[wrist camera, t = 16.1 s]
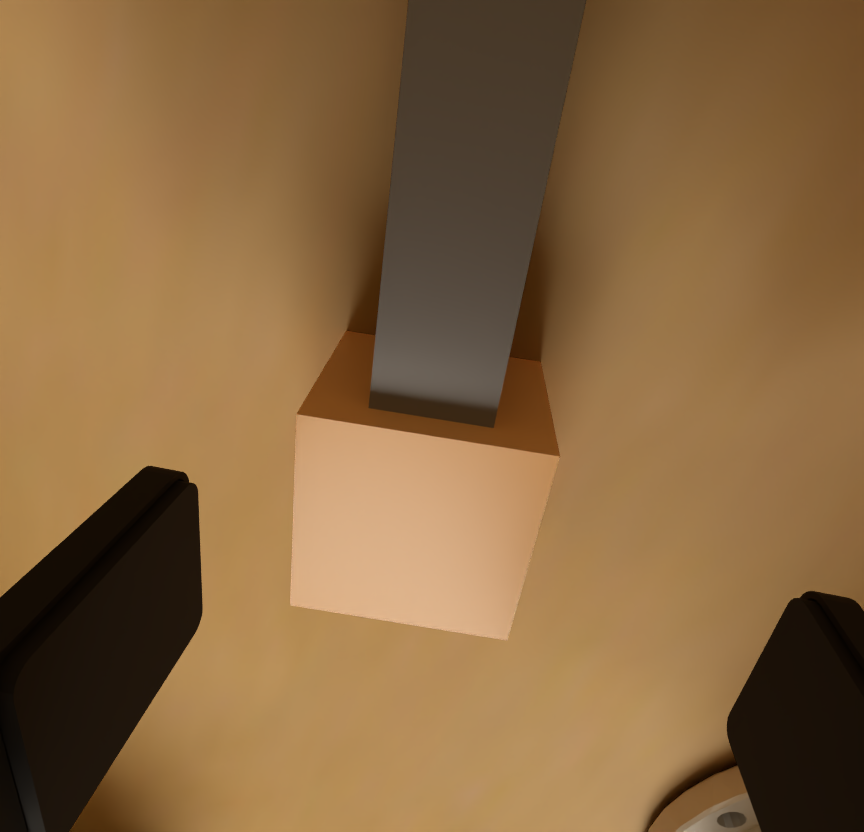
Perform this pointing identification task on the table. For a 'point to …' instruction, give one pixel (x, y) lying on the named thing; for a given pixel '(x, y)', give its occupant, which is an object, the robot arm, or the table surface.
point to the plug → (443, 341)
